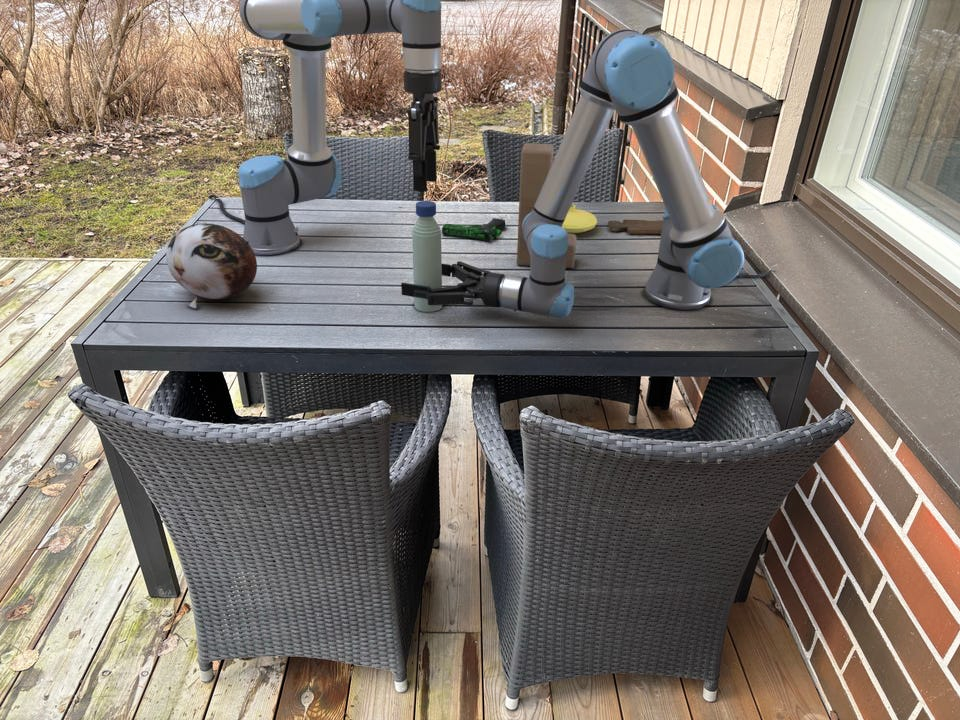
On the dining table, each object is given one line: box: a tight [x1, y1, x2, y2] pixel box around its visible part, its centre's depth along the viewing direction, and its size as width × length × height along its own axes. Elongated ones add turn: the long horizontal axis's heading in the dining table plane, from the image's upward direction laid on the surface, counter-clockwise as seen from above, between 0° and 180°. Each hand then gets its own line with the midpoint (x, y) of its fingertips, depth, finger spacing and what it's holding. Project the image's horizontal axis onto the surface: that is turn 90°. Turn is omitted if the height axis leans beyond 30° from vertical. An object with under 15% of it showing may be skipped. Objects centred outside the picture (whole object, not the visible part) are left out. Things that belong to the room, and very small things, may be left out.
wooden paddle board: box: [607, 219, 663, 235], centre depth 211 cm, size 26×2×10 cm
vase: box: [561, 204, 598, 234], centre depth 209 cm, size 16×16×7 cm
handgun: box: [441, 217, 506, 242], centre depth 207 cm, size 16×3×15 cm
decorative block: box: [516, 142, 577, 269], centre depth 181 cm, size 8×15×30 cm, turn 82°
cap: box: [415, 200, 437, 217], centre depth 154 cm, size 4×4×2 cm
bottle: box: [411, 216, 443, 313], centre depth 160 cm, size 6×6×24 cm
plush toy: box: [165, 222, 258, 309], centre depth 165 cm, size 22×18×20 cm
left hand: (425, 185), depth 152 cm, fingers open, 6 cm apart
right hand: (413, 277), depth 164 cm, fingers open, 12 cm apart
